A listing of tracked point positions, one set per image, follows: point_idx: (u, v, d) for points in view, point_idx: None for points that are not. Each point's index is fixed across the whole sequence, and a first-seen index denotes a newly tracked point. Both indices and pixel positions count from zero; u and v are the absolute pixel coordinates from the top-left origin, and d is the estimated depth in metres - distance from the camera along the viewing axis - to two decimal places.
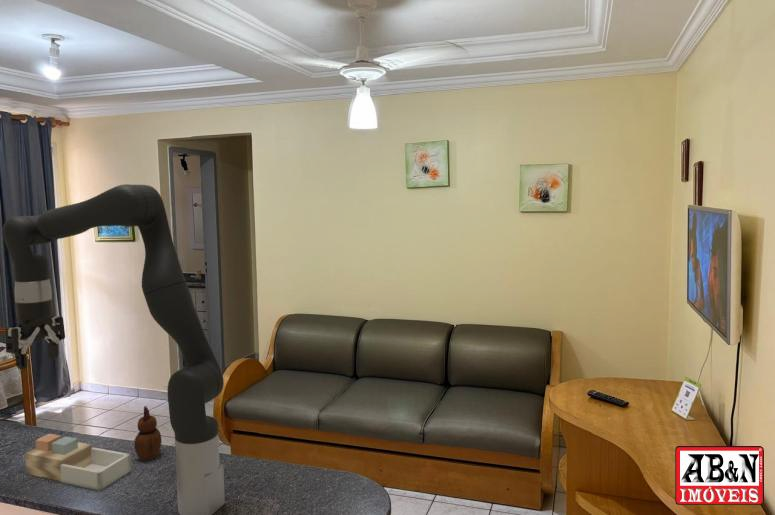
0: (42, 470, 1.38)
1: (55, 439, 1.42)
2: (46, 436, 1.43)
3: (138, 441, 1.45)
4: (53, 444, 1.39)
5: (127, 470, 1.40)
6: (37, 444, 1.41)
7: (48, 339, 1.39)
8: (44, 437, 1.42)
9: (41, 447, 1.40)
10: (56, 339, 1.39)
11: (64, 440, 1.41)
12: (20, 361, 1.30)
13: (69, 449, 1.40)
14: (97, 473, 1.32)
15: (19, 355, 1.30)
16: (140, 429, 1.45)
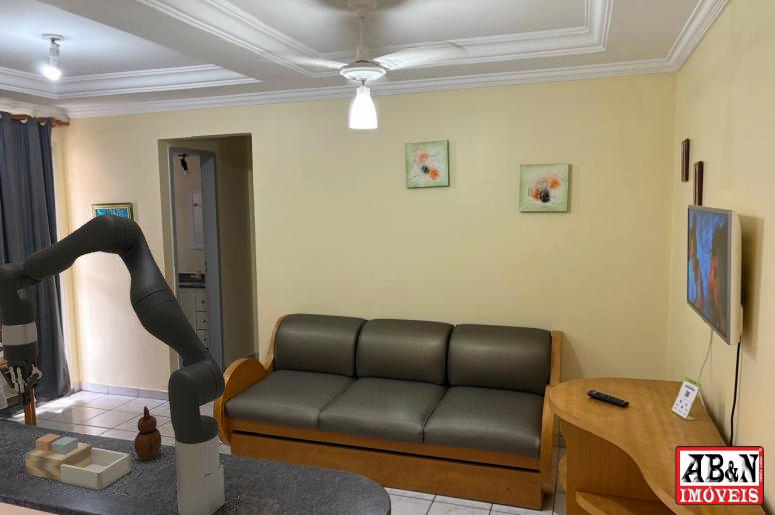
0: (42, 470, 1.38)
1: (55, 439, 1.42)
2: (46, 436, 1.43)
3: (138, 441, 1.45)
4: (53, 444, 1.39)
5: (127, 470, 1.40)
6: (37, 444, 1.41)
7: None
8: (44, 437, 1.42)
9: (41, 447, 1.40)
10: None
11: (64, 440, 1.41)
12: (30, 396, 1.43)
13: (69, 449, 1.40)
14: (97, 473, 1.32)
15: (30, 391, 1.43)
16: (140, 429, 1.45)
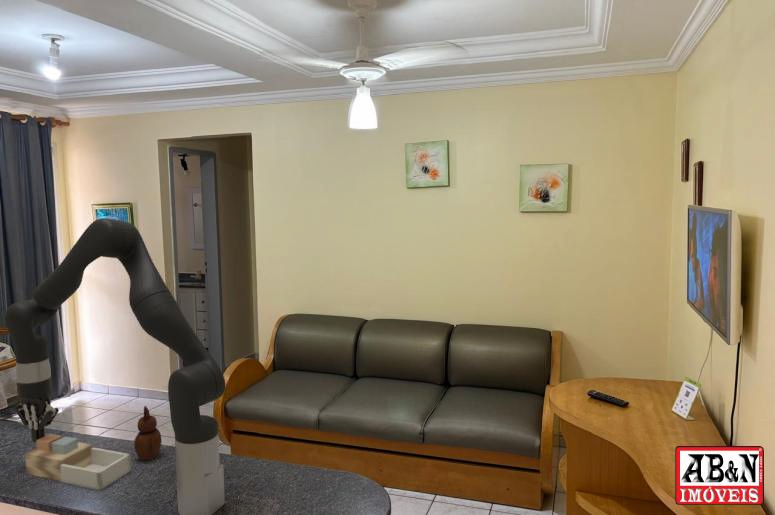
0: (42, 470, 1.38)
1: (56, 439, 1.42)
2: (47, 436, 1.43)
3: (138, 441, 1.45)
4: (53, 444, 1.39)
5: (127, 470, 1.40)
6: (38, 444, 1.41)
7: None
8: (45, 437, 1.42)
9: (42, 447, 1.40)
10: None
11: (64, 440, 1.41)
12: None
13: (69, 449, 1.40)
14: (97, 473, 1.32)
15: (43, 428, 1.43)
16: (140, 429, 1.45)
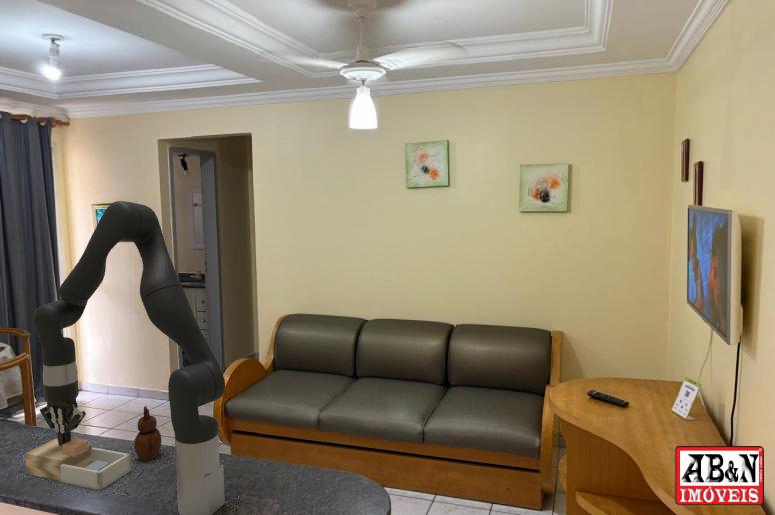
0: (42, 470, 1.38)
1: (82, 444, 1.39)
2: (73, 441, 1.40)
3: (138, 441, 1.45)
4: None
5: (127, 470, 1.40)
6: (64, 449, 1.38)
7: None
8: (71, 442, 1.40)
9: (68, 452, 1.38)
10: None
11: None
12: (70, 437, 1.40)
13: None
14: (97, 473, 1.32)
15: (69, 431, 1.40)
16: (140, 429, 1.45)
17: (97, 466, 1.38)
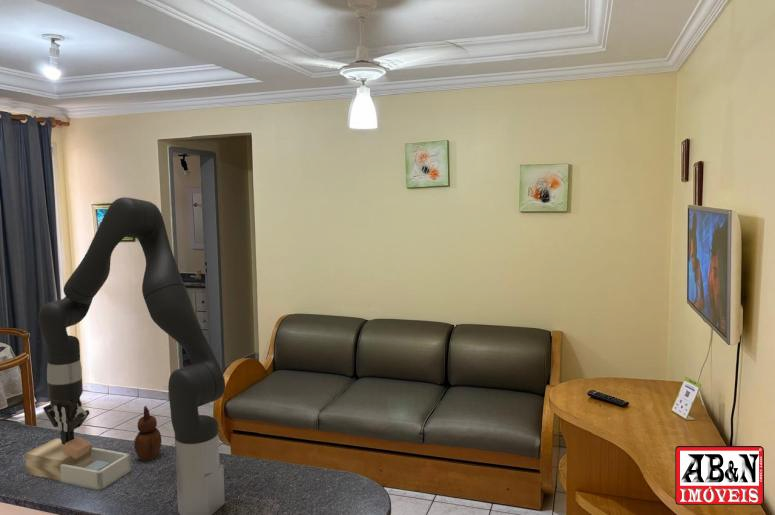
0: (42, 470, 1.38)
1: (85, 447, 1.39)
2: (76, 440, 1.40)
3: (138, 441, 1.45)
4: None
5: (127, 470, 1.40)
6: (66, 447, 1.38)
7: None
8: (74, 441, 1.39)
9: (69, 452, 1.38)
10: None
11: None
12: (73, 435, 1.40)
13: None
14: (97, 473, 1.32)
15: (73, 430, 1.40)
16: (140, 429, 1.45)
17: (97, 466, 1.38)
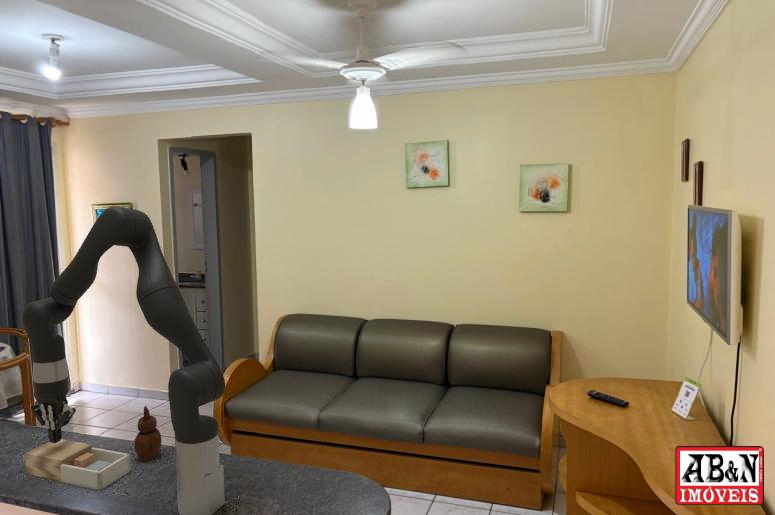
0: (42, 470, 1.38)
1: None
2: (89, 459, 1.39)
3: (138, 441, 1.45)
4: None
5: (127, 470, 1.40)
6: (78, 462, 1.38)
7: None
8: (87, 461, 1.39)
9: None
10: None
11: None
12: (60, 433, 1.41)
13: None
14: (97, 473, 1.32)
15: (60, 428, 1.41)
16: (140, 429, 1.45)
17: (98, 466, 1.38)
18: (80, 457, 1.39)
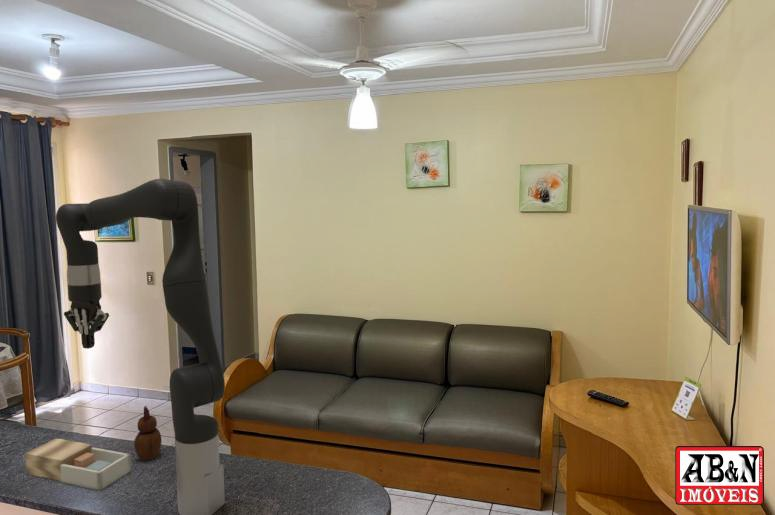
0: (42, 470, 1.38)
1: None
2: (89, 459, 1.39)
3: (138, 441, 1.45)
4: None
5: (127, 470, 1.40)
6: (78, 462, 1.38)
7: None
8: (87, 461, 1.39)
9: None
10: None
11: None
12: (93, 339, 1.43)
13: None
14: (97, 473, 1.32)
15: (93, 334, 1.43)
16: (140, 429, 1.45)
17: (98, 466, 1.38)
18: (80, 457, 1.39)
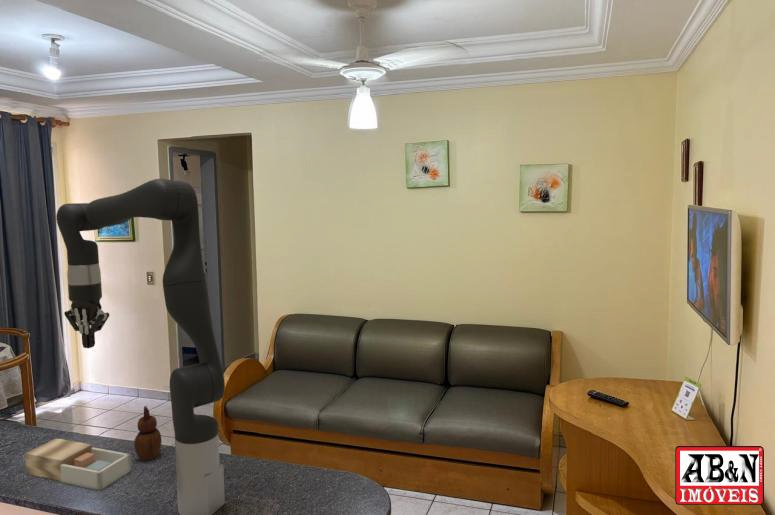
0: (42, 470, 1.38)
1: None
2: (89, 459, 1.39)
3: (138, 441, 1.45)
4: None
5: (127, 470, 1.40)
6: (78, 462, 1.38)
7: None
8: (87, 461, 1.39)
9: None
10: None
11: None
12: (94, 339, 1.43)
13: None
14: (97, 473, 1.32)
15: (94, 333, 1.43)
16: (140, 429, 1.45)
17: (98, 466, 1.38)
18: (80, 457, 1.39)
